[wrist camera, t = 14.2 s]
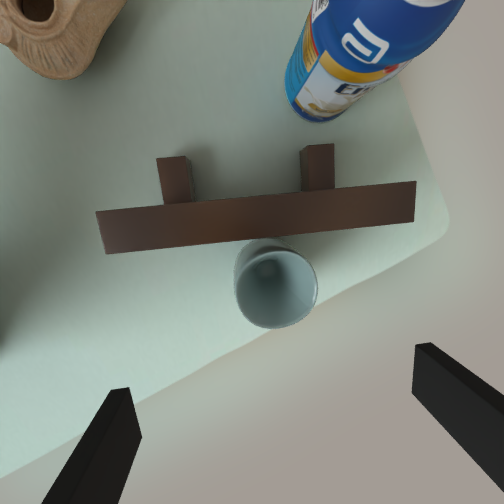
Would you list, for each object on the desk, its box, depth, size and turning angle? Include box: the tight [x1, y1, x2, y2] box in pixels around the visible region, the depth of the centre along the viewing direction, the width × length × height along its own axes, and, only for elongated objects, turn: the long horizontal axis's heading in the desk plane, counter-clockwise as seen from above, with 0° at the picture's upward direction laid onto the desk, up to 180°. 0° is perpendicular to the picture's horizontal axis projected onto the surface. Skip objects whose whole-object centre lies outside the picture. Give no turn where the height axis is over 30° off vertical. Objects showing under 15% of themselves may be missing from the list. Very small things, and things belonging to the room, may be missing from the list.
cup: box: [234, 238, 318, 329], centre depth 26 cm, size 8×8×10 cm
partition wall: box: [96, 143, 417, 254], centre depth 23 cm, size 23×8×13 cm, turn 95°
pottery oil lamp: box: [0, 0, 127, 80], centre depth 21 cm, size 9×12×7 cm
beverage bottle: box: [284, 0, 465, 123], centre depth 17 cm, size 8×8×20 cm
